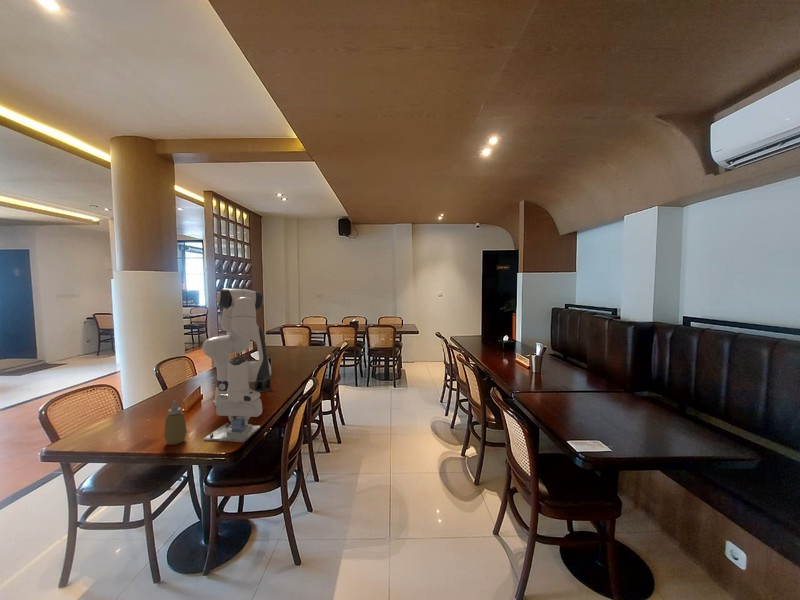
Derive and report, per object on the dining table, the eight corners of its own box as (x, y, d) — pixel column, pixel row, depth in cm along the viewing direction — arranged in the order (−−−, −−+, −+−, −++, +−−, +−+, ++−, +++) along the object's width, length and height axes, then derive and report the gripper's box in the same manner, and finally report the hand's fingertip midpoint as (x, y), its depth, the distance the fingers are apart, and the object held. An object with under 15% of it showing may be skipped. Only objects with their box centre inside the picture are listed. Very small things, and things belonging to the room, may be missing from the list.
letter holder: (254, 394, 204) (253, 371, 203) (248, 386, 220) (248, 365, 220) (271, 391, 210) (270, 369, 209) (264, 383, 226) (264, 363, 225)
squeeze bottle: (171, 438, 145) (170, 397, 144) (191, 437, 145) (189, 397, 145) (159, 447, 137) (158, 404, 136) (180, 446, 137) (178, 403, 136)
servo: (240, 424, 152) (239, 415, 152) (248, 425, 152) (248, 415, 152) (230, 432, 145) (229, 422, 144) (238, 432, 144) (238, 422, 144)
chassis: (224, 426, 156) (223, 420, 156) (260, 427, 155) (260, 422, 155) (204, 440, 143) (203, 434, 142) (243, 441, 141) (243, 435, 141)
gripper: (212, 396, 145) (213, 427, 146) (256, 397, 144) (257, 428, 144) (221, 392, 152) (222, 421, 152) (263, 393, 150) (264, 422, 151)
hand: (239, 425), depth 148 cm, fingers closed on servo, 4 cm apart
